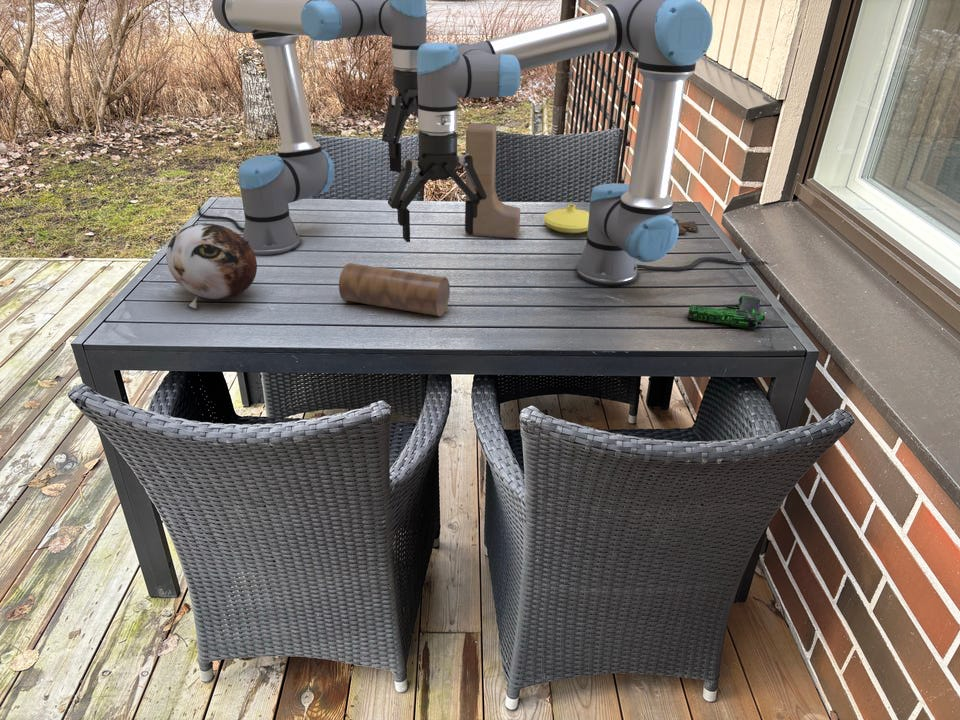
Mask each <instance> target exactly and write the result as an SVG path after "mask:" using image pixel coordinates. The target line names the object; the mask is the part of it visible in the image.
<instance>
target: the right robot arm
mask: <svg viewBox="0 0 960 720" xmlns="http://www.w3.org/2000/svg"><path fill="white" fill-rule="evenodd" d="M713 27H714V26H713V20H712V16H711V14H710V12H709V11H708V9H707V8H706V6H705V5H704V4H703V3H701V2H700V1H699V0H617V1H613V2H611V3H606V4H602V5H600V6H598V7H597V8H596V10H595V12H592V13H588V14H585V15H581V16H577V17H573V18H569V19H565V20H564V19H563V20H561V21H557V22H553V23H549V24H545V25H541V26H537V27H533V28H530V29H525V30H522V31H517V32H514V33H509V34H505V35H502V36H498V37H494V38H490V39H487V40H483V41H477V42H474V43H466V42H462V43H461V42H459V43H455V44H454V43H450V42H426V43H425V44H422V45H421V46H420V47H419V49H418V57H417V82H418V117H417V128H418V130H419V132H418V133H417V134H418V135H417V136H418V137H417V138H418V139H417V141H418V156H417V158H416V159H415V158H409V157H407V156H404V157H403V158H402V161H401V165H402V170H401V172H400V173H399V174H398V176H397V178H396V181H395V184H394V186H393V188H392V190H391V192H390V195H389V198H388V199H387V205H388V206H389V207H390V208H391V209H393V210H394V209H395V210H397V212H396V213H397V223H398V225H399V226H401V227H402V239H403V241H405V243H411V216H410V215H411V214H410V210H409V209H408V207H409V205H410V204H411V203H412V201H413V200H414V199H415V198H416V196H417V195H418V194H419V192H420V191H421V189H422V188H423V187H424V185H426V184H428V182H429V181H431V182H436V181H447V180H448V179H449V178H450V179H451V180H452V181H453V183H455V184H456V185H457V187H458V188H459V189H460V190H461V191H462V192H463V194H464V195H465V197H466V196H467V197H468V198H469V199H470V201H466V200H465V201H464V205H465V206H464V231H465V233H466V232H467V233H468V234H469V235H468V236H472V235H473V218H476V217H477V207H478V204H479V203H480V200H482V199H483V200H485V199H486V198H487V195H486V193H485V191H484V189H483V187H482V184H481V182H480V180H479V178H478V176H477V174H476V171H475V169H474V167H473V158H472V156H470V155H469V154H468V153H466V152H464V153H463V154H462V155H458V134H457V132H456V131H457V130H458V110H459V109H458V108H459V105H458V102H459V99H469V98H472V99H473V98H499V99H500V98H505V97H512V96H514V95H516V94H517V92H518V91H519V88H520V87H521V86H520V85H521V79H522V78H521V77H522V76H521V75H522V73H523V72H525V71H529V70H534V69H537V68H541V67H544V66H548V65H553V64H556V63H559V62H564V61H567V60H568V61H569V60H571V59H575V58H579V57H582V56H587V55H590V54H594V53H598V52H602V53H603V54H605V55H611V54H614V53H620V52H628V53H629V52H630V53H637V54H638V55H637V63H636V64H637V65H636V69H637V71H638V72H639V74H640V75H641V76H642V84H641V93H640V99H639V107H638V115H637V123H636V130H635V139H634V145H633V155H632V162H631V170H630V177H629V183H619V182H618V183H617V182H616V183H615V182H614V183H603V184H599V185H596V186H595V187H593V189H592V190H591V193H590V200H589V210H588V212H589V221H588V231H586V232H587V234H586V243H585V247H584V248H583V250H582V253H581V255H580V258H579V260H578V262H577V265H576V274H577V276H578V277H579V278H580V279H581V280H583V281H585V282H588V283H590V284H594V285H598V286H606V287H618V286H624V285H628V284H631V283H633V282H634V281H635V280H636V279H637V277H638V269H642V270H650V271H662V272H663V271H664V272H665V271H666V272H673V271H674V272H675V271H684V270H689V269H692V268H694V267H695V266H696V265H697V264H699V263H700V262H707V261H709V262H710V261H712V262H719V263H725V264H731V265H746V264H750V263H754V262H758V261H757V258H756V257H752V258H750V259H744V260H745V261H746V262H735V261H732V260H733V259H728V258H722V257H715V256H703V257H700V258H696V259H695V260H694V261H693V262H692V263H690V264H687V265H682V266H655V265H654V266H653V265H645V264H637V261H639V262H642V263H653V262H656V261H659V260H661V259H663V258H664V257H665V256H666V255H667V254H668V253H670V252H671V251H672V249H674V247H675V245H676V244H677V241H678V238H679V234H680V233H679V229H678V225H677V224H676V222H675V220H676V219H675V218H674V217H673V218H672V214H673V207H674V199H673V198H672V197H671V196H670V195H669V187H670V182H671V175H672V169H673V162H674V157H675V150H676V145H677V144H676V143H677V137H678V131H679V124H680V118H681V111H682V106H683V99H684V92H685V87H686V80H687V79H688V78H689V77H690V76H692V75H693V74H694V73H695V71H696V67H697V62H699V60H701V59H702V58H703V56H704V54H705V53H707V51H708V49H710V45H711V42H712V40H713V39H712V38H713V34H714V33H713V32H714V29H713ZM459 164H460V165H461V166H463V167H464V170H465V173H466V172H467V174H468V176H469V178H470V180H471V183H472V185H473V187H474V189H475V191H476V194H474V193H473V192H472V191H471V190H470V189H469V188H468V186H467V185H466V182H465V181H464V180H463V179H462V178H461V176H460V175H459V174H458V173H457V172H456V169H457V167H458V165H459ZM416 167H418V169H419V171H418V173H417V174H416V175H415V178H414V179H413V180H412V182H411V184H410V185H408V187H407V184H408V182H409V180H410V178H411V175H412V172H413V171H414V170H415V168H416ZM406 187H407V189H406ZM405 189H406V190H405ZM728 260H731V261H728Z"/></svg>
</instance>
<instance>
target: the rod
mask: <svg viewBox="0 0 960 720" xmlns="http://www.w3.org/2000/svg"><path fill="white" fill-rule="evenodd" d="M450 287H451V286H450V281H449V279H448V277H446V276H439V275H432V274H425V273H420V272H413V271H412V272H411V271H405V270H398V269H391V268H385V267H379V266H372V265H366V264H360V263H353V262H348V263H347V264H345V265H344V267H343V268H342V270H341V273H340V276H339V280H338V291H339V295H340V298H341V299H342V300H343V301H344V302H345V301H346V302H352V303H357V304H364V305H368V306H369V305H370V306H375V307H380V308H388V309H393V310H399V311H405V312H412V313H417V314H424V315H430V316H435V317H442V316H443V315H444V314H445V312H446V310H447V308H448V305H449V302H450V294H451V290H450V289H451V288H450Z"/></svg>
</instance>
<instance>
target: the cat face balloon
mask: <svg viewBox="0 0 960 720" xmlns="http://www.w3.org/2000/svg"><path fill="white" fill-rule="evenodd" d="M248 242H249V241H246V240H245V239H244V238H243V236H242V235H240V234H239V233H238V232H236V231H234V230H233V229H231V228H229V227H226V226H223V225H220V224H215V223H205V222H204V223H195V224H191V225H188V226H186V227H183V228H182V229H180V230H179V231H177V232H176V233H175V234H174V235H173V237H171V239H170V241H169V243H168V245H167V248H166V254H165V260H166V265H167V268H168V271H169V273H170V275H171V276H172V277H173V279H174V280H175V281H176V282H177V284H178V285H180V286H181V287H182V288H183V289H185V290H186V291H187V292H189V293H191V294H194V295H195V298H194V299H193V300H192V302H190V303H189V304H188V306H189V307H191V308H192V309H197V308H198V307H197V298H198V297H201V298H205V299H210V300H226V299H230V298H233V297H236V296H238V295H241V294H242V293H244V292H245V291H247V290H248V289H249V288H250V286H251V285H252V284H253V282H254V280H255V278H256V275H257V271H258V262H257V257H256V254H254V252H253V250H252V248H251V247H250V245H249V244H248Z"/></svg>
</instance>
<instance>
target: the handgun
mask: <svg viewBox="0 0 960 720" xmlns="http://www.w3.org/2000/svg"><path fill="white" fill-rule="evenodd" d="M738 303H739V305H737V306H730V305H725V306H724V307H723V308H715V307H708V306H700V305H695V304H691V305H690V306H689V307H688V312H687V313H688V314H687V319H688V320H692V321H693V320H694V321H698V322H699V321H700V322H707V323H714V324H720V325H727V326H731V327H736V328H741V329H745V330H749V331H754V330H756V328H757V327H758V325H759V326H762V323H763V321H765V319H766V316H765V314H763V313H761V312H758V311H759V309H760V307H761V306H760V305H761V299H760V298H759V297H756V296H749V295H740V297H739V298H738Z"/></svg>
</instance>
